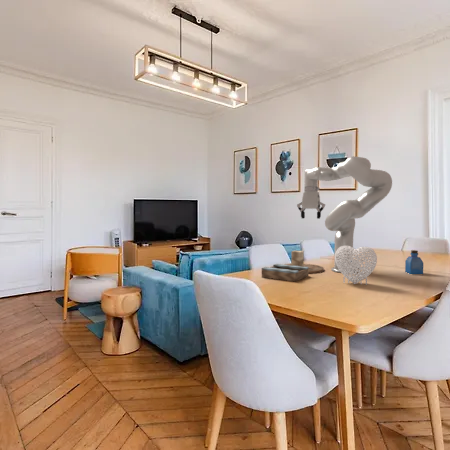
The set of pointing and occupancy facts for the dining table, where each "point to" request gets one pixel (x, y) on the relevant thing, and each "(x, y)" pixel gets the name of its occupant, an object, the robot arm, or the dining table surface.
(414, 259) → the perfume bottle
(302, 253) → the beech block
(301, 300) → the dining table surface
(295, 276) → the crate
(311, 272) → the trivet
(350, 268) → the decorative heart
